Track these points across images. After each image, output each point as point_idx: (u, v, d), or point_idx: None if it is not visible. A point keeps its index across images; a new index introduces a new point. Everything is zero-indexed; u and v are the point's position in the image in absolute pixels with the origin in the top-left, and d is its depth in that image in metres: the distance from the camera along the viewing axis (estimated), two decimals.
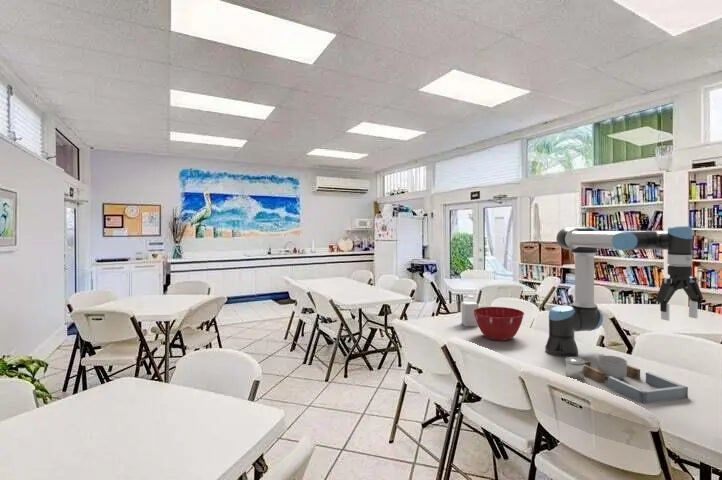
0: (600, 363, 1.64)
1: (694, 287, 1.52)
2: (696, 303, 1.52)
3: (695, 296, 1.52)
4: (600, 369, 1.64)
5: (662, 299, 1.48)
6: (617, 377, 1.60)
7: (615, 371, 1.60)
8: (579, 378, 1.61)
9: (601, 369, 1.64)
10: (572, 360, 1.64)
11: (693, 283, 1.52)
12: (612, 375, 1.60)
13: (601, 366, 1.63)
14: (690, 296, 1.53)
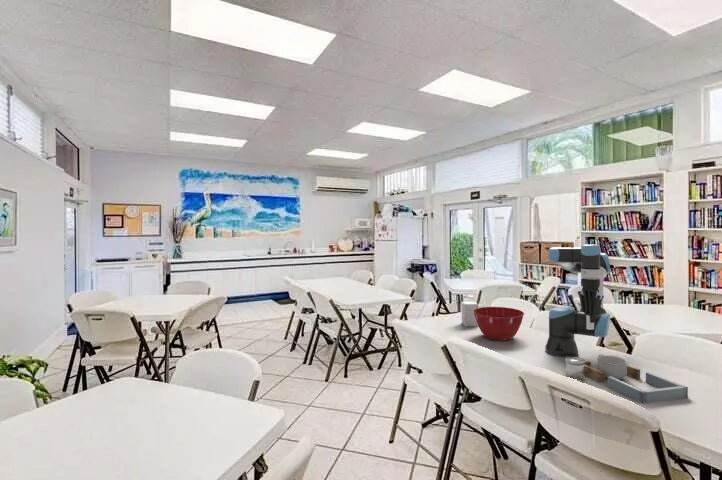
0: (600, 363, 1.64)
1: None
2: (588, 316, 1.76)
3: (590, 309, 1.75)
4: (600, 369, 1.64)
5: (582, 310, 1.79)
6: (617, 377, 1.60)
7: (615, 371, 1.60)
8: (579, 378, 1.61)
9: (601, 369, 1.64)
10: (572, 360, 1.64)
11: None
12: (612, 375, 1.60)
13: (601, 366, 1.63)
14: None
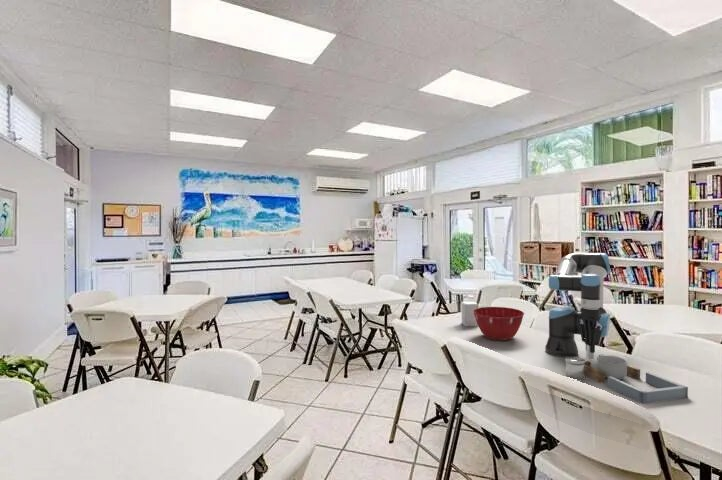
0: (600, 363, 1.64)
1: None
2: (588, 346, 1.76)
3: (590, 339, 1.75)
4: (600, 369, 1.64)
5: (582, 339, 1.80)
6: (617, 377, 1.60)
7: (615, 371, 1.60)
8: (579, 378, 1.61)
9: (601, 369, 1.64)
10: (572, 360, 1.64)
11: None
12: (612, 375, 1.60)
13: (601, 366, 1.63)
14: None
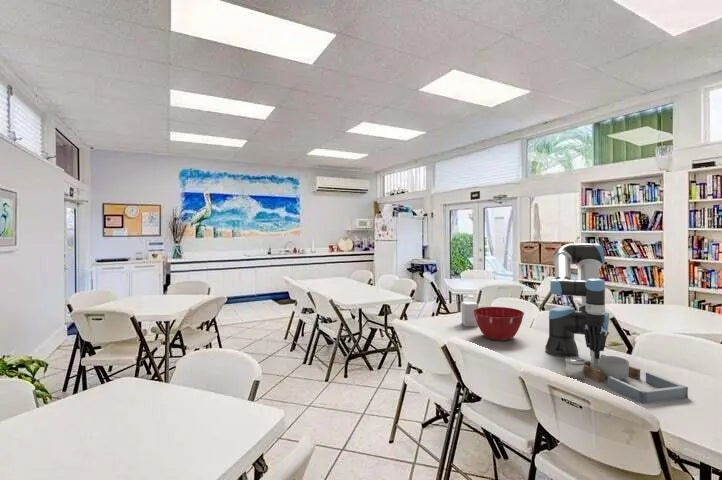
0: (602, 363, 1.63)
1: None
2: (593, 352, 1.73)
3: (594, 345, 1.72)
4: (602, 369, 1.64)
5: (586, 344, 1.77)
6: (619, 378, 1.59)
7: (617, 372, 1.59)
8: (579, 378, 1.61)
9: (603, 369, 1.63)
10: (572, 360, 1.64)
11: None
12: (614, 376, 1.60)
13: (603, 366, 1.63)
14: None
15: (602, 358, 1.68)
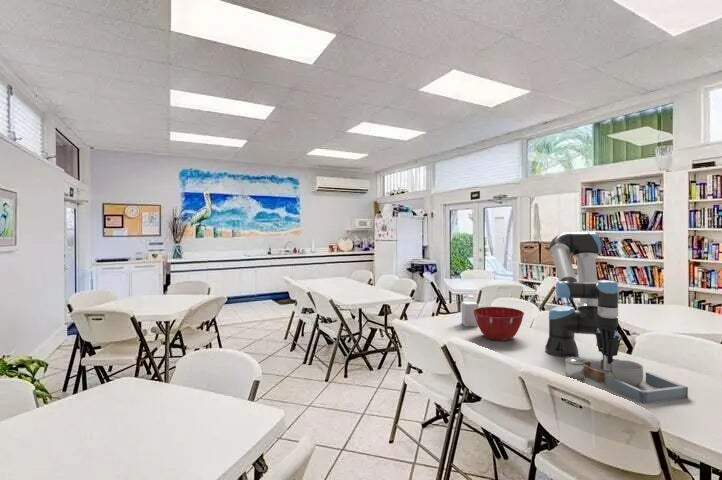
0: (614, 368, 1.58)
1: None
2: (605, 357, 1.66)
3: (607, 350, 1.65)
4: (614, 374, 1.58)
5: (598, 349, 1.70)
6: (631, 383, 1.54)
7: (629, 377, 1.53)
8: (579, 378, 1.61)
9: (615, 374, 1.58)
10: (572, 360, 1.64)
11: None
12: (626, 381, 1.54)
13: (615, 371, 1.57)
14: None
15: (615, 362, 1.63)
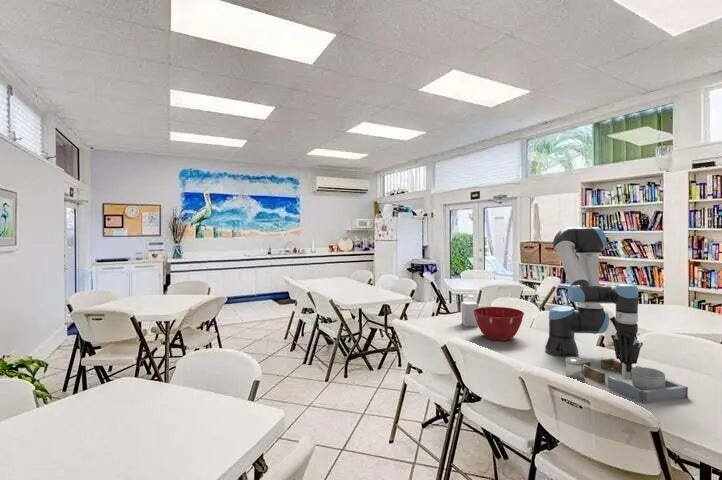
0: (633, 375, 1.50)
1: None
2: (624, 364, 1.58)
3: (626, 357, 1.57)
4: (633, 381, 1.51)
5: (616, 356, 1.61)
6: None
7: (650, 385, 1.46)
8: (579, 378, 1.61)
9: (634, 382, 1.50)
10: (572, 360, 1.64)
11: None
12: (646, 389, 1.46)
13: (635, 378, 1.50)
14: None
15: (636, 369, 1.55)
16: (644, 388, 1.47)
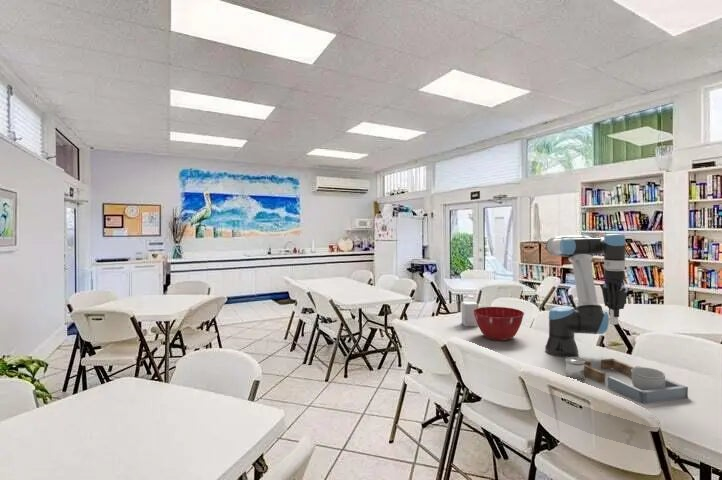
0: (633, 375, 1.50)
1: None
2: (612, 310, 1.65)
3: (614, 303, 1.64)
4: (633, 382, 1.51)
5: (605, 303, 1.69)
6: None
7: (650, 385, 1.46)
8: (579, 378, 1.61)
9: (634, 382, 1.50)
10: (572, 360, 1.64)
11: None
12: (646, 389, 1.46)
13: (635, 378, 1.50)
14: None
15: (636, 369, 1.55)
16: (644, 388, 1.47)
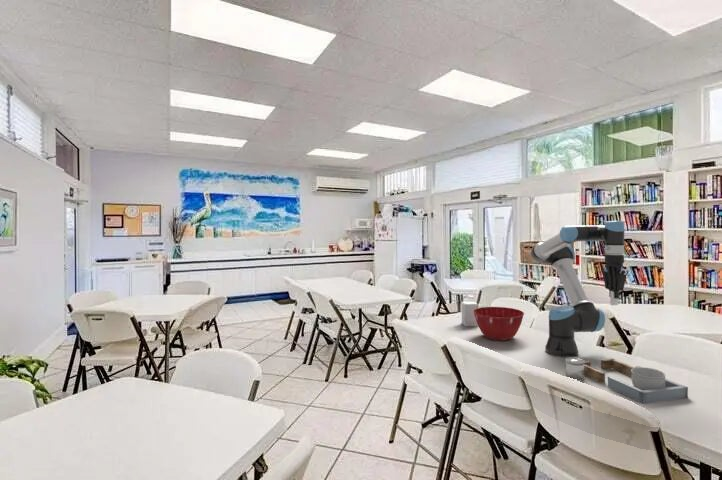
0: (633, 375, 1.50)
1: None
2: (612, 292, 1.77)
3: (614, 285, 1.76)
4: (633, 382, 1.51)
5: (605, 286, 1.81)
6: None
7: (650, 385, 1.46)
8: (579, 378, 1.61)
9: (634, 382, 1.50)
10: (572, 360, 1.64)
11: None
12: (646, 389, 1.46)
13: (635, 378, 1.50)
14: None
15: (636, 369, 1.55)
16: (644, 388, 1.47)
